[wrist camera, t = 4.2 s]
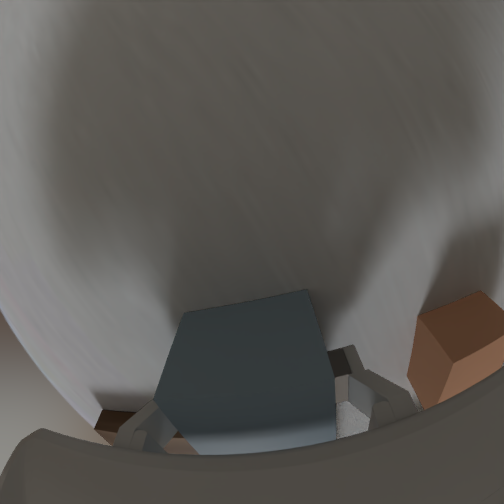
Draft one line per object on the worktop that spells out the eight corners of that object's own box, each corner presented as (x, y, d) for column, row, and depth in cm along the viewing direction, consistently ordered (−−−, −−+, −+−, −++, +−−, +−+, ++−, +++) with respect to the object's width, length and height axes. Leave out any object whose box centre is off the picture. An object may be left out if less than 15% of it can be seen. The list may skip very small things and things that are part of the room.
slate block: (183, 313, 12) (153, 399, 7) (306, 289, 11) (334, 377, 7) (220, 389, 14) (211, 466, 9) (318, 373, 13) (335, 452, 9)
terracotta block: (416, 314, 12) (453, 363, 8) (479, 289, 12) (518, 325, 8) (405, 374, 14) (429, 420, 10) (463, 349, 13) (491, 386, 10)
